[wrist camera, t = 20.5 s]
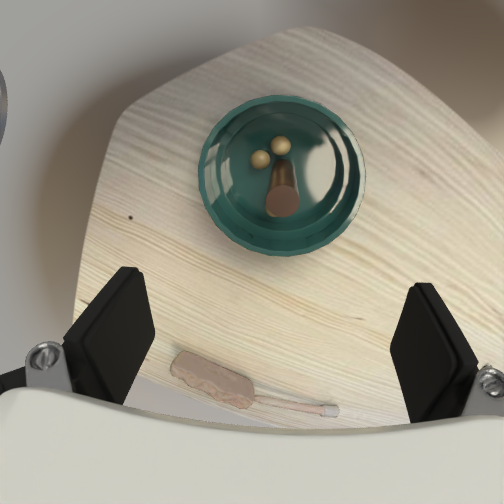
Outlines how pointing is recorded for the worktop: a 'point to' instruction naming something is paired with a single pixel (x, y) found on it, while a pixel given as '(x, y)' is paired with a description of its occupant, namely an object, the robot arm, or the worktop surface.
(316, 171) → the mixing bowl
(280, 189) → the stick
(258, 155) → the bead
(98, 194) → the worktop surface
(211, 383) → the tan handled block
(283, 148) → the bead
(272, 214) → the bead
